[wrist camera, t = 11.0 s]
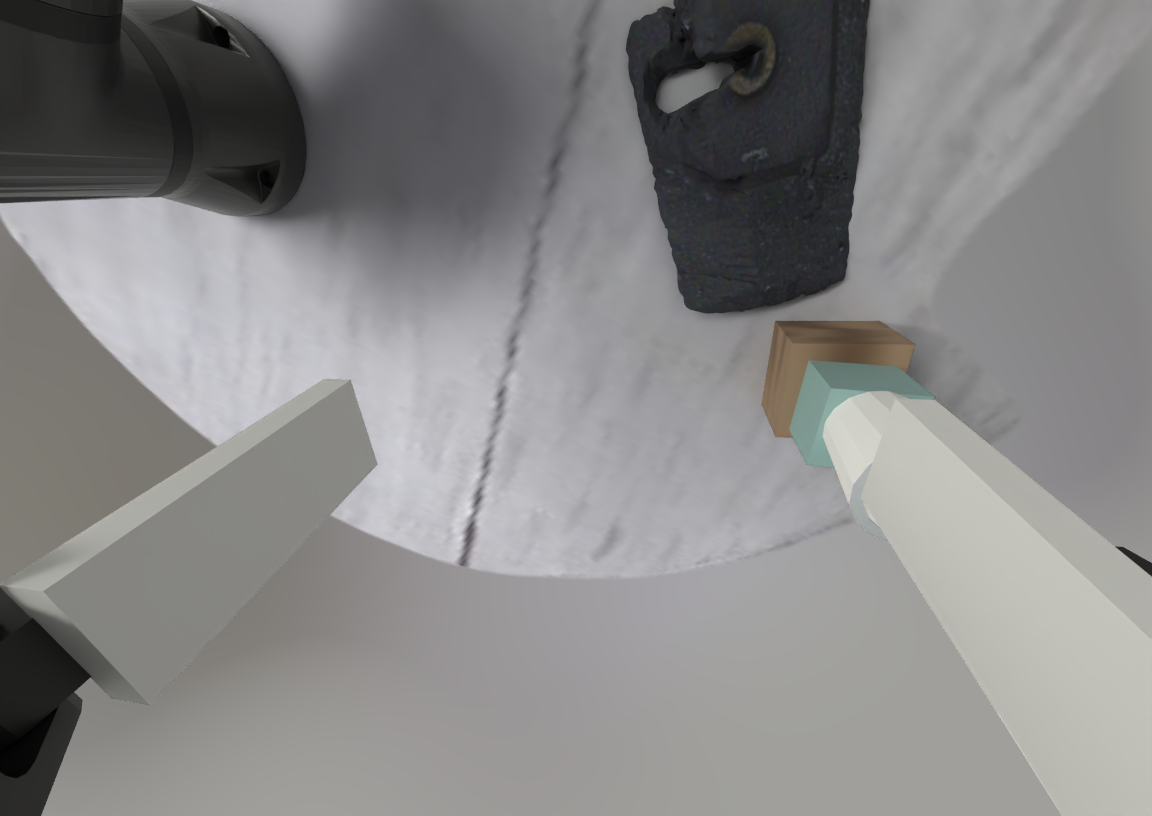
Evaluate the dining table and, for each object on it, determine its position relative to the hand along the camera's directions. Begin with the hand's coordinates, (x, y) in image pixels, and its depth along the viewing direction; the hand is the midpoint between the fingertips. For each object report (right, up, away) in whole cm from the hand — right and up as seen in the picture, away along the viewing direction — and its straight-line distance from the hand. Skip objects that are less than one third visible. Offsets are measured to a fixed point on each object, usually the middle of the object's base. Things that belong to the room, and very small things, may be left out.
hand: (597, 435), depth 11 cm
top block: (+20, +1, +22) cm, 29 cm away
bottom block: (+21, +4, +27) cm, 34 cm away
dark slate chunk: (+12, +19, +22) cm, 32 cm away
